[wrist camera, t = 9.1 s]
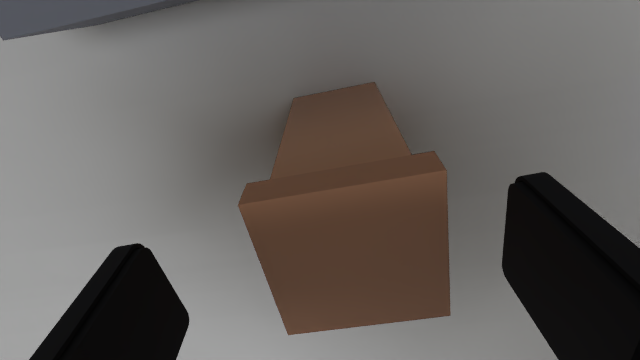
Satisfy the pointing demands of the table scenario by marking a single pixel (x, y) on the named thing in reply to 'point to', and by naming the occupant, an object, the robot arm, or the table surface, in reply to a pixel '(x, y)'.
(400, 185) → the plug
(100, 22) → the socket box
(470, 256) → the table surface
